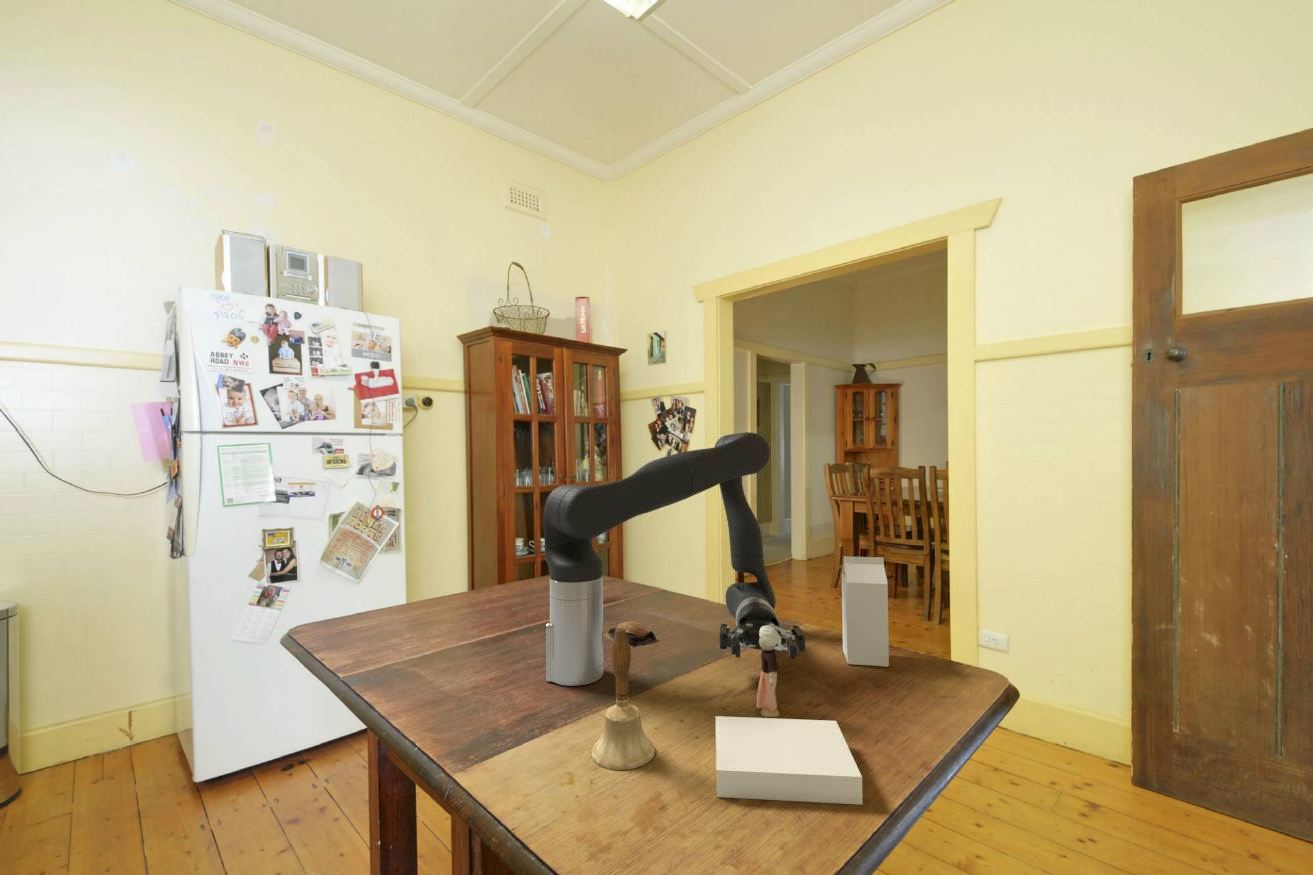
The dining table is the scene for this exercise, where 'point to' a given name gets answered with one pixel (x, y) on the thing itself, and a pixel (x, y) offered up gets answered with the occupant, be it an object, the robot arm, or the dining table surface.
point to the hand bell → (622, 719)
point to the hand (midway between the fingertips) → (765, 652)
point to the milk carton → (865, 611)
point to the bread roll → (634, 634)
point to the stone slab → (785, 761)
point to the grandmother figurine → (768, 672)
